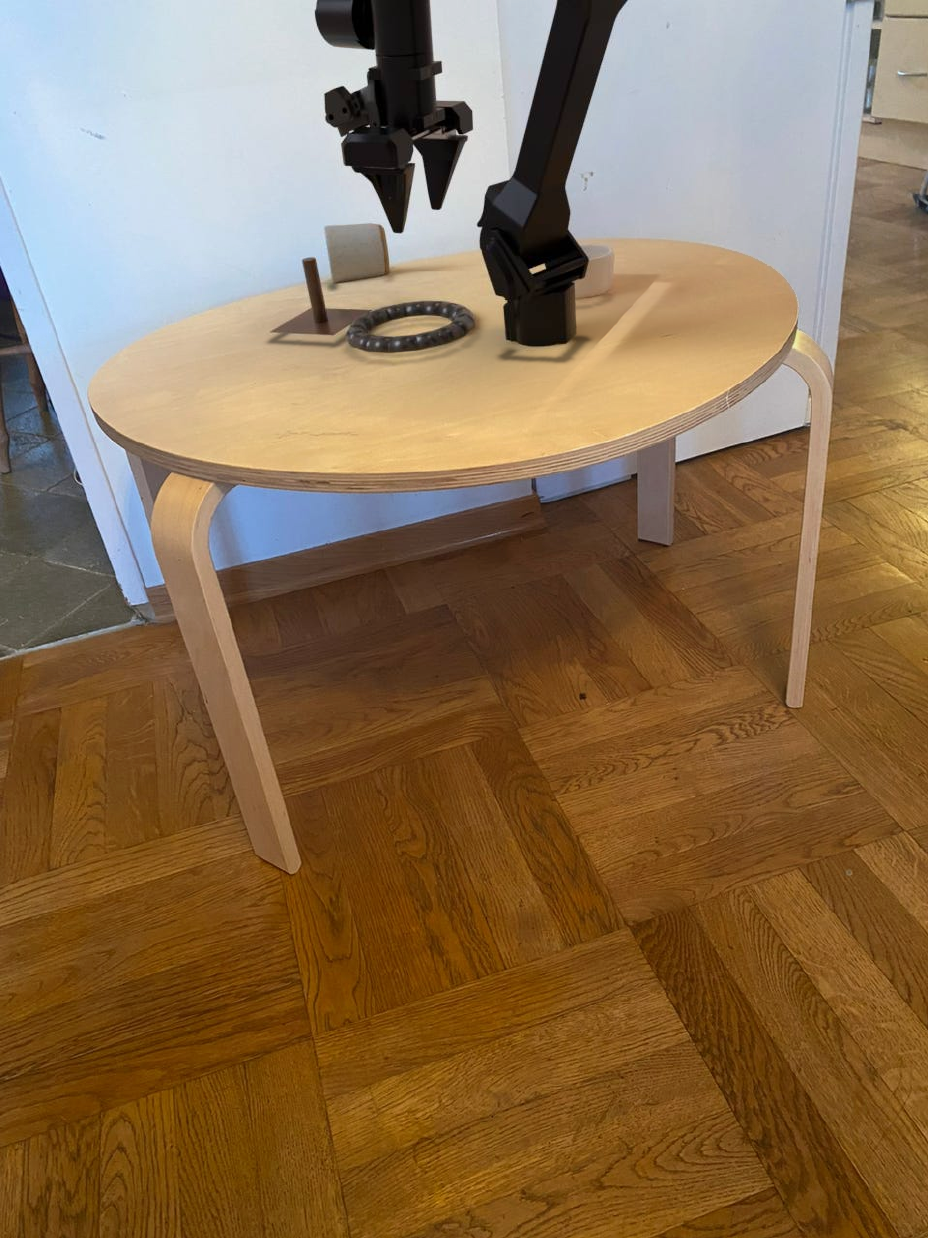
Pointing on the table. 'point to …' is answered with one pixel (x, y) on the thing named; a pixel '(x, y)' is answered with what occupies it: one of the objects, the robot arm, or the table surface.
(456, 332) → the ring
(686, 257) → the table surface
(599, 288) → the teacup
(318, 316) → the peg stand
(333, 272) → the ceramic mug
